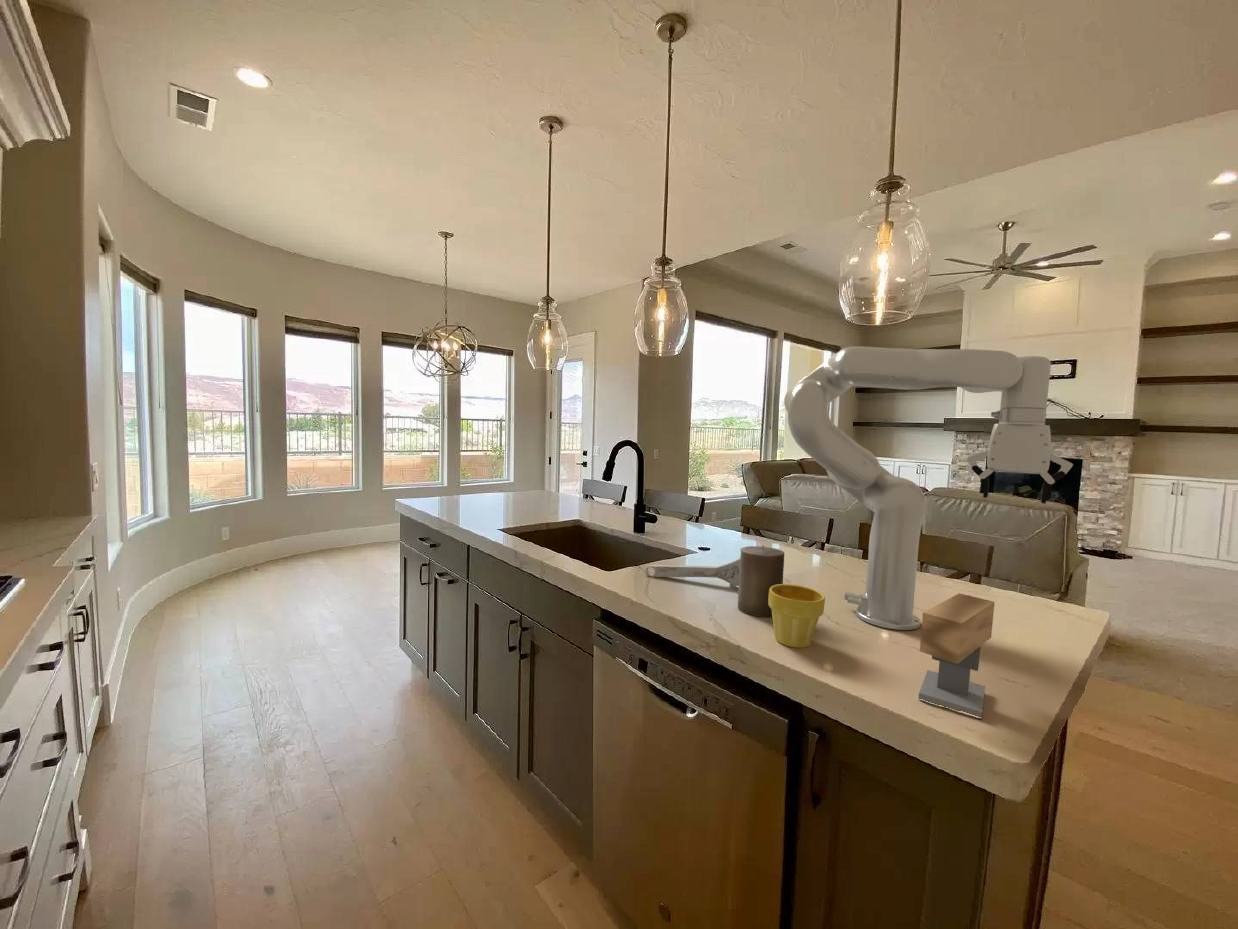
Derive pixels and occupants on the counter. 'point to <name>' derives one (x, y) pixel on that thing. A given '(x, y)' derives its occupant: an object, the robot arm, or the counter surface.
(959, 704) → the stand
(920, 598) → the counter surface
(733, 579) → the wrench
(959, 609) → the oak block
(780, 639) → the plant pot
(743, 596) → the pillar candle
